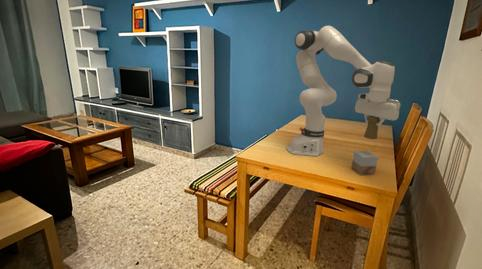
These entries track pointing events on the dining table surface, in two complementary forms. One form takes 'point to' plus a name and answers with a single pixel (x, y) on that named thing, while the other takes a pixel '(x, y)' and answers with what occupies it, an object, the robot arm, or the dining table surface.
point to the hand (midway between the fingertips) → (372, 125)
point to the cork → (372, 128)
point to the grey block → (365, 158)
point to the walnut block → (363, 169)
